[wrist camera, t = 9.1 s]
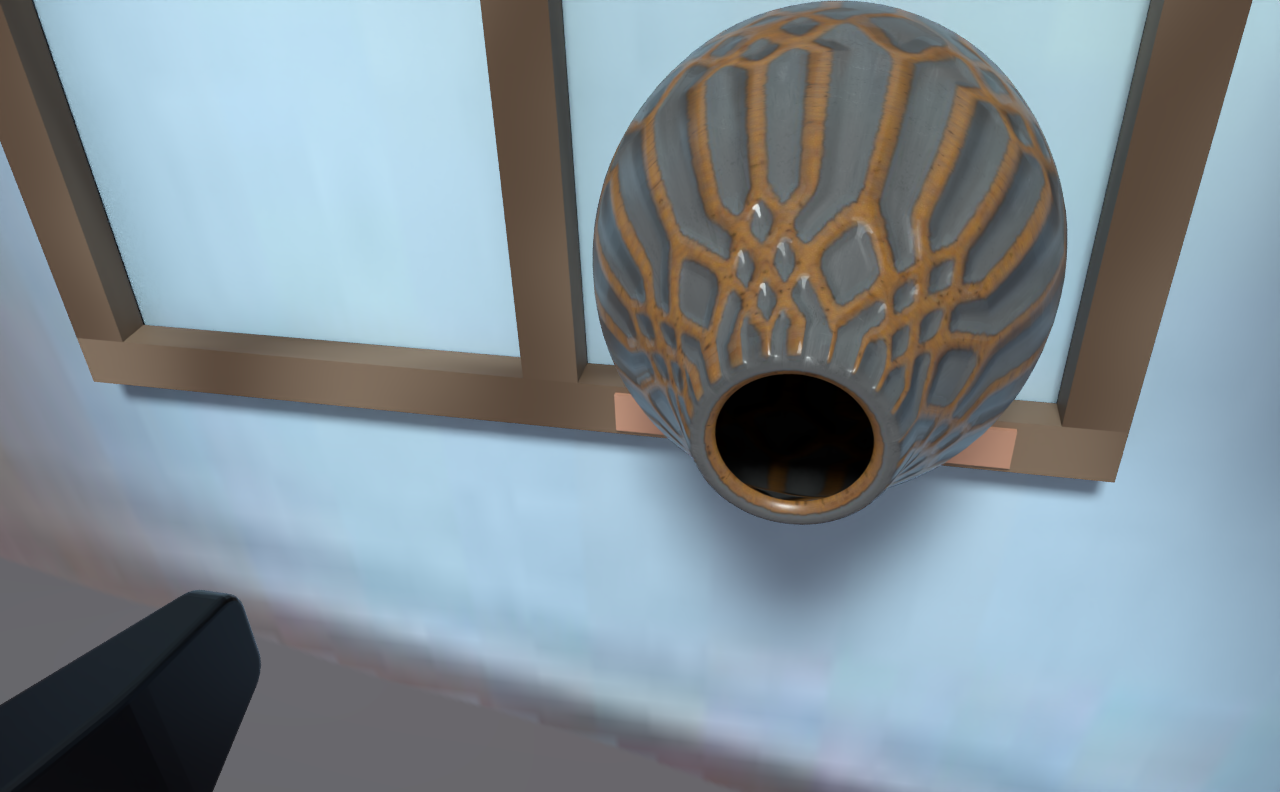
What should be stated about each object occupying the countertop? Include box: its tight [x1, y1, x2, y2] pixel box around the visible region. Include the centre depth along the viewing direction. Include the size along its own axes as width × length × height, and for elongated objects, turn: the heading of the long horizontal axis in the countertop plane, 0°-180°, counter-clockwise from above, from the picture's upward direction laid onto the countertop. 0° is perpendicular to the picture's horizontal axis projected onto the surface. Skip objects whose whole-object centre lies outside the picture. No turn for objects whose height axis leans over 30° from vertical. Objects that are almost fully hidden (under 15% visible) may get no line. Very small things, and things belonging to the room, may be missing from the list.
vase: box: [593, 1, 1067, 525], centre depth 15 cm, size 7×7×9 cm
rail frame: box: [0, 0, 1252, 482], centre depth 19 cm, size 23×12×1 cm, turn 91°
